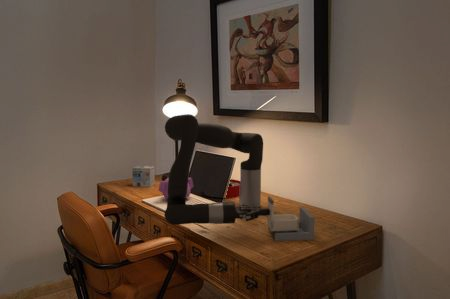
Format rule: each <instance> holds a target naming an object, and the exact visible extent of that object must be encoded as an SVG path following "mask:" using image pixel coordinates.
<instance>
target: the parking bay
mask: <svg viewBox="0 0 450 299" xmlns="http://www.w3.org/2000/svg"><path fill="white" fill-rule="evenodd" d="M298 219H299V230H297V232H293V231H276V233H275V235H273V234H272V231H271V230H270V229H269V227H268V226H267V228H268V230H269V232H270V234H271V235H272V237H273V239H274V241H275V242H281V241H283V242H284V241H306V240H307V241H309V240H310V241H313V240H314V239H315V217H314V216H313V214H312V213H310V212H309V210H307V208H306V207H304V206H299V218H298Z"/></svg>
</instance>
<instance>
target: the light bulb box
mask: <svg viewBox="0 0 450 299" xmlns="http://www.w3.org/2000/svg"><path fill="white" fill-rule="evenodd" d="M131 169H132V187H139V188H140V187H142V188H151V187H154V185H155V183H156V181H155V166H154V165H135V166H134V167H132V168H131Z"/></svg>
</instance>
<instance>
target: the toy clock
mask: <svg viewBox="0 0 450 299" xmlns="http://www.w3.org/2000/svg"><path fill="white" fill-rule="evenodd" d="M230 179H231V180H230V184H229V187H228V191H227V195H226V198H225V199H232V197H234V198H238V197H239V185H240V180H239V179H233V178H230ZM237 196H238V197H237Z"/></svg>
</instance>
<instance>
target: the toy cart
mask: <svg viewBox="0 0 450 299" xmlns="http://www.w3.org/2000/svg"><path fill="white" fill-rule="evenodd" d="M267 208H269V210H270V215H267V228H268V227H269V228H268V230H269V229H270V230H271V231H272V234H273V235H275V233H276V231H293V232H297V230H299V219H300V218H298V217H297V215H296V214H294V213H290V214H287V213H285V214H282V213H281V214H275V213H274V212H275V211H274V210H275V201H274V199H273V198H272V197H271V196H269V195H268V196H267ZM270 230H269V231H270ZM272 234H271V235H272ZM273 235H272V236H273Z"/></svg>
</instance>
